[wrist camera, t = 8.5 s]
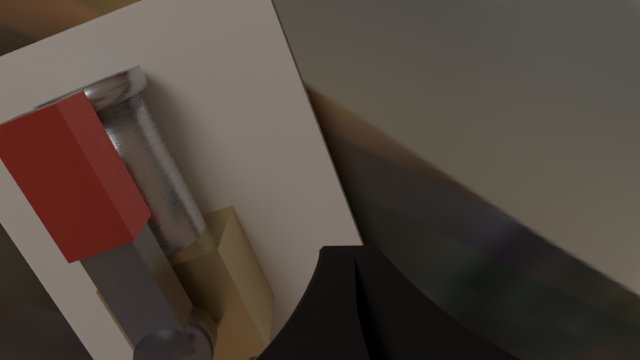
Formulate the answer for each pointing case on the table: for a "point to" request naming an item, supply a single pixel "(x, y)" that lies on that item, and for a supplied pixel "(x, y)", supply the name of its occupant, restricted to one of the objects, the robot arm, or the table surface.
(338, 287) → the robot arm
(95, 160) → the valve lever
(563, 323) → the table surface
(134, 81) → the valve body
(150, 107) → the mounting board
